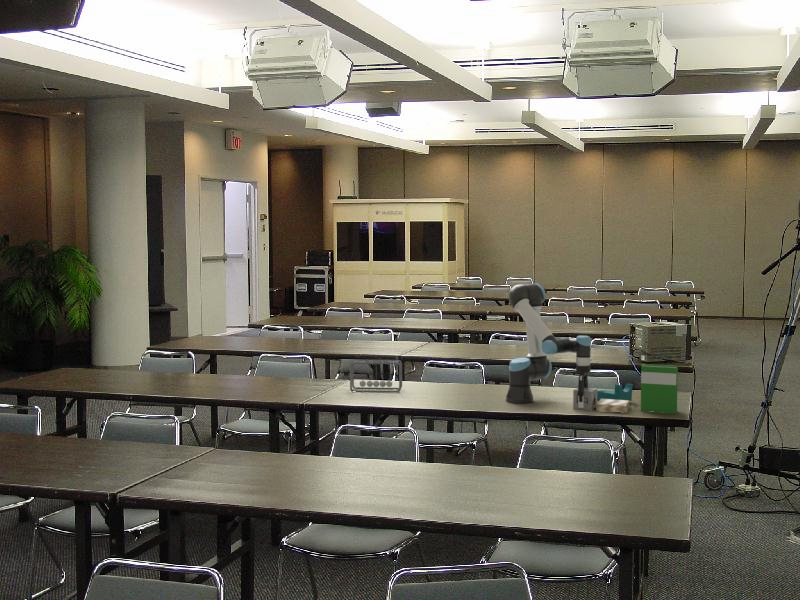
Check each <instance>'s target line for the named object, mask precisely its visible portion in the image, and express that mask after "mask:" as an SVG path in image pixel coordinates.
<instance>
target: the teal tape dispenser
mask: <svg viewBox="0 0 800 600" xmlns="http://www.w3.org/2000/svg"><path fill="white" fill-rule="evenodd" d="M633 385H634V384H632V383H625V386H624V388H623V384H619V383H618V384H617V383H616V384H615V383H614V390H610V389H609V390H608V389H597V402H599V401H600V399H614V400H629V401H630V402H632V399H633Z"/></svg>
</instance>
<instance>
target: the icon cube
mask: <svg viewBox="0 0 800 600" xmlns="http://www.w3.org/2000/svg"><path fill="white" fill-rule="evenodd" d="M597 390H598V388H595V387H588V388H584V393H583V396H584V408H578V396H577V394H578V387H576V388H575V389H573V392H572V393H573V394H572V395H573V399H572V400H573V401H572V407H573V408H574V409H573V408H572V409H573V410H584V411H593V410H594V409H595V410H596V408H597V403H598V400H597Z"/></svg>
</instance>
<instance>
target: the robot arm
mask: <svg viewBox="0 0 800 600" xmlns="http://www.w3.org/2000/svg"><path fill="white" fill-rule="evenodd" d="M546 294H547V293H546V290H545V288H544V287H543V286H542V284H539V283H533V282H530V283H522V284H521V283H519V284H515V285H514V286H512V287H511V288H510V290H509V292H508V301H509V304H510V305H511V307H512V309H513V310H514V311H515V312H518V314H519V315H520V316H521V317H522V319H523V320H524V321H525V331H526V341H527V342H526V343H527V344H526V345H527V355H525V357H516V358H514V359H513V358H512V359H511V360H509V366H508V370H509V371H508V373H509V374H508V377H509V378H508V381H509V382H508V384H509V385H508V386H509V387H508V390H507V393H506V396H505V401H506V402H508V403H511V404H529V403H533V402H534V394H533V391H532V389H531V381H536V380H543V379H546V378H548V377H549V376H550V375H551V373H552V371H553V369H552V368H553V366H552V362H551V361H550V359H549V358H547V357H548V355H555V354H565V353H575V355H576V356H575V358H576V359H575V364H576V366H575V372H576V373H577V374H578V373H579V375H578V385H577V388H578V394H577V396H578V408H584V396H583V393H584V388H589V379H588V377H589V374H590V373H591V361H592V360H593V359H592V358H591V354H592V353H591V351H592V349H591V348H592V341H591V336H588V335H577V336H576V338H572V337H560V338H557V339H556V337H555V336H554V334H553V332H551V331H550V329H549V328H548V326H547V325H546V324H545V322H544V321H543V319H542V318H541V317H542V316H541V310H542V308H543V303H544V302H545V300H546V297H547V295H546Z"/></svg>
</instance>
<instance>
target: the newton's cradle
mask: <svg viewBox="0 0 800 600" xmlns="http://www.w3.org/2000/svg"><path fill="white" fill-rule="evenodd" d="M355 365H362V369H364V367H365V366H364V365H375V376H377V371H378V370H377V367H378V366H377V365H388V368H390V365H398V383H399V384H398V387H392V386H393V381H392V380H390V379H388V380H387V381H385V380H384V368H381V370H382V371H381V372H382V373H381V375H382V377H381V378H382V380H381V381H378V380H377V379H375V380H374V381H372V380H371V367H369V369H368V370H369V375H368V377H369V380H367V382H366V381H365V380H364V379H361V381H359V385H360V386H359V387H358V386H357V387H355V378H354V377H355ZM365 386H367V387H365ZM379 386H380V387H379ZM386 386H387V387H386ZM402 388H403V362H402V361H401V360H400V359H353V360H352V362H351V363H350V365H349V389H350V391H351V392H352V391H356V392H355V393H400V392H401V390H402ZM395 389H396V390H395Z"/></svg>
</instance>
